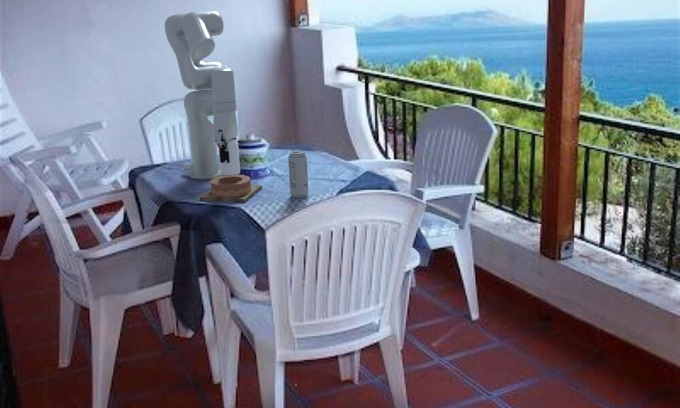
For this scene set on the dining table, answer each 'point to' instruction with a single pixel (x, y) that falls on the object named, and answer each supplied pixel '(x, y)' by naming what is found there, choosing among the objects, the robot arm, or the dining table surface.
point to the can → (231, 160)
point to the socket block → (231, 189)
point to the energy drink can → (298, 174)
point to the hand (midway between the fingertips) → (228, 159)
